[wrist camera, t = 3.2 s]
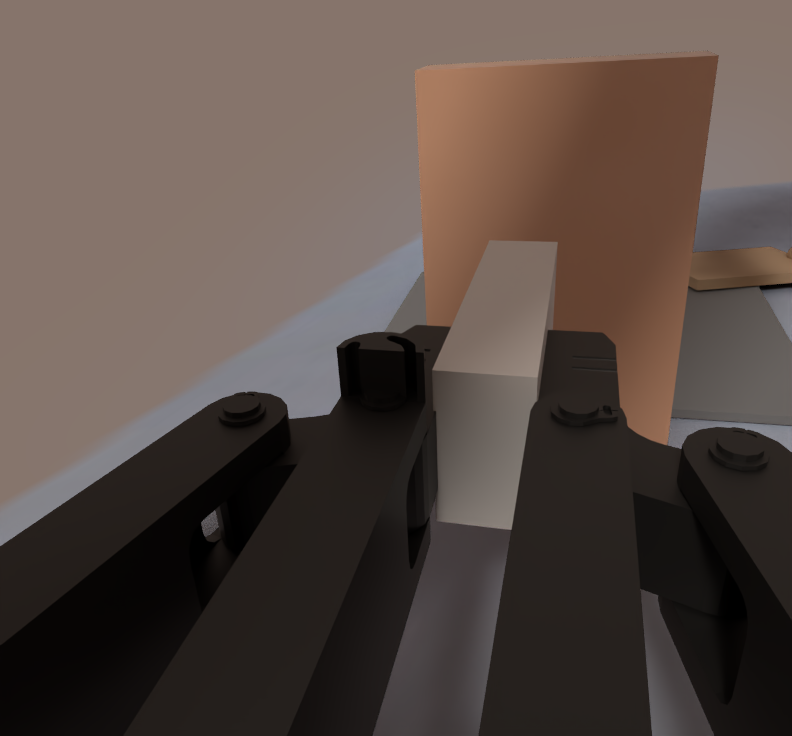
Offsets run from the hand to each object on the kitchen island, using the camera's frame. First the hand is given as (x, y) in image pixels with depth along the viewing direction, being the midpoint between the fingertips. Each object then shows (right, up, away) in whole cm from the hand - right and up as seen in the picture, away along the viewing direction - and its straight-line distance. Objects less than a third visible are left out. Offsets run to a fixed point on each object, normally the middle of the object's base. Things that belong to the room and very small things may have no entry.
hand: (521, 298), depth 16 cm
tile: (+3, -4, +13) cm, 14 cm away
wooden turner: (+23, +5, +27) cm, 36 cm away
